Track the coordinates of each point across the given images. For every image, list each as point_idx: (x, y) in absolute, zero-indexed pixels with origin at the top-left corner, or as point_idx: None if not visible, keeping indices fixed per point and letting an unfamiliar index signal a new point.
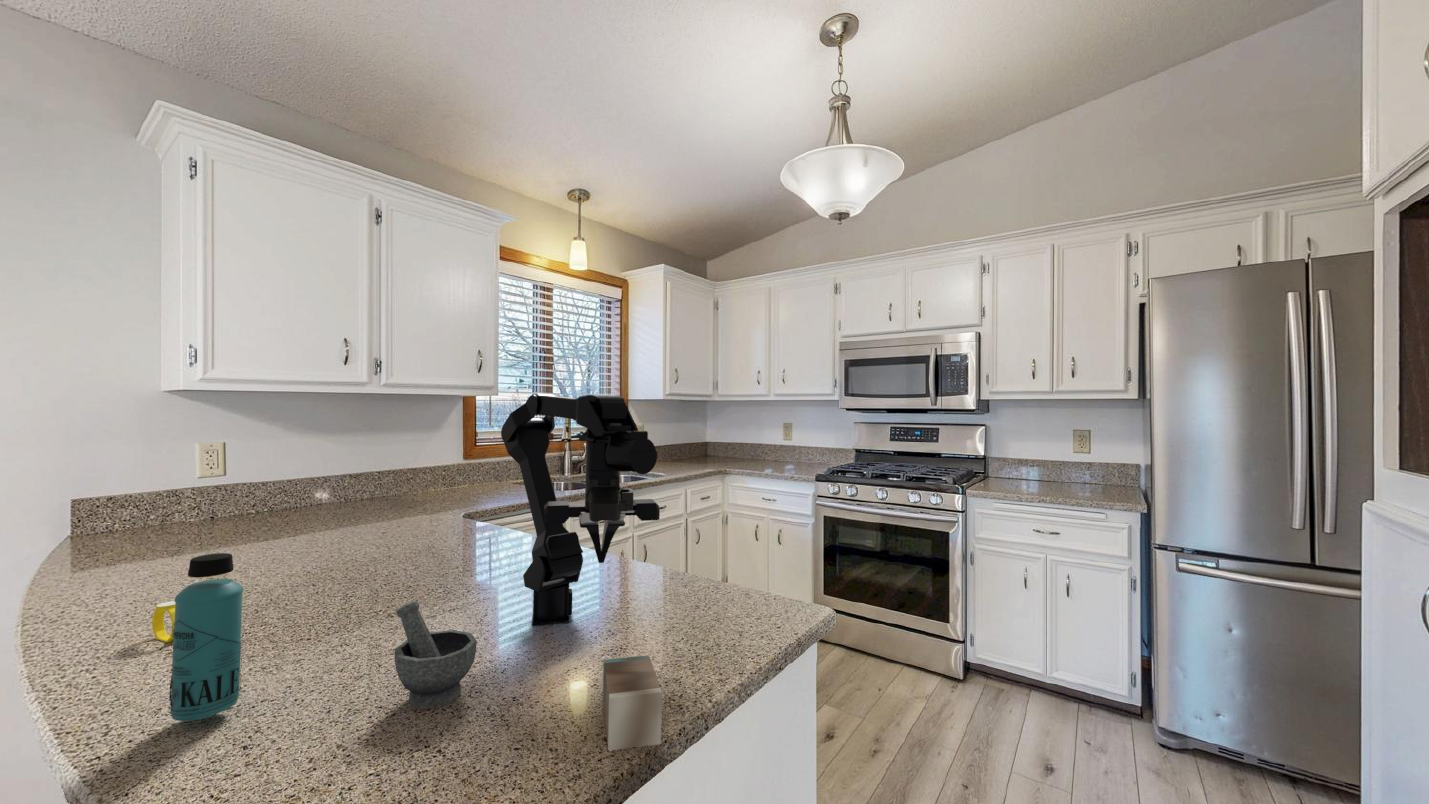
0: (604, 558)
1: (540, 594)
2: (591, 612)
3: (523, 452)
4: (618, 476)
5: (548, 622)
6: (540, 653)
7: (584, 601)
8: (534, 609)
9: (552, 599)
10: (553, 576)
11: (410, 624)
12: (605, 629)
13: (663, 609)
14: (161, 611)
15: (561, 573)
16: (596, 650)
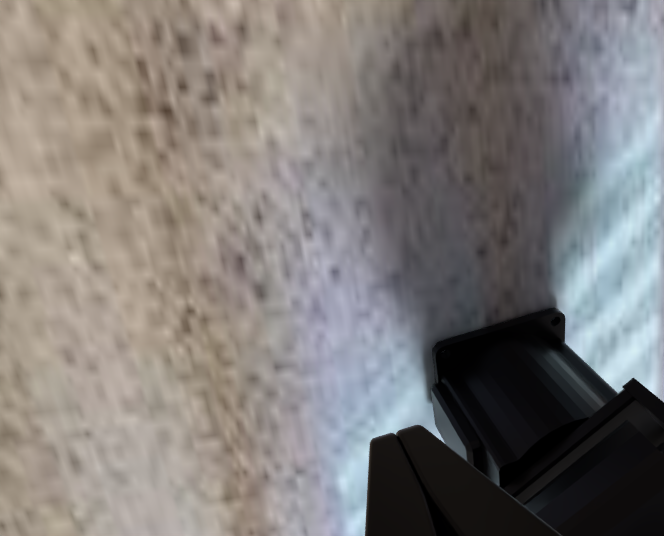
0: (375, 471)
1: (601, 400)
2: (360, 437)
3: None
4: None
5: (506, 325)
6: (514, 54)
7: None
8: (580, 360)
9: (541, 389)
10: (627, 435)
11: None
12: (280, 301)
13: (72, 503)
14: None
15: (589, 472)
16: (281, 84)
